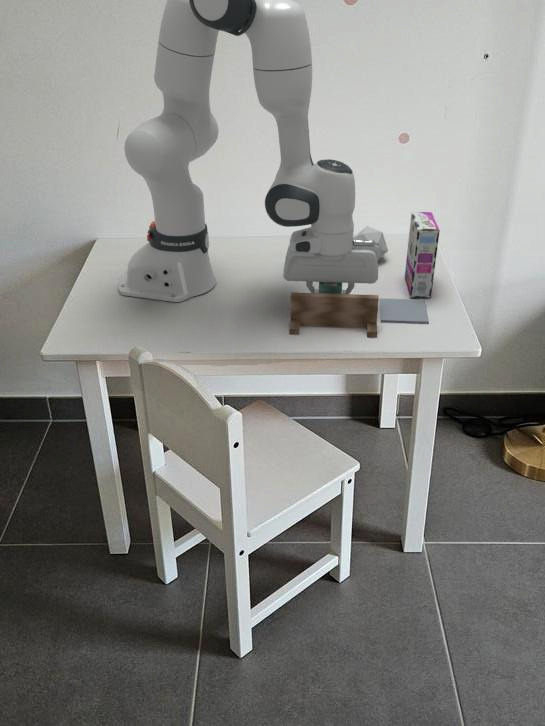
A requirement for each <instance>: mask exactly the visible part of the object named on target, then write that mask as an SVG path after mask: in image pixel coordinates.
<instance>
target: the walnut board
mask: <svg viewBox="0 0 545 726" xmlns="http://www.w3.org/2000/svg"><path fill="white" fill-rule="evenodd" d="M379 296H380V295H379V294H355V293H354V294H353V293H350V294H327V293H311V292H292V291H291V292H290V321H289V331H288V332H289V333H288V334H289V335H300V329H301V327H302V326H303V327H323V328H325V327H328V328H329V327H331V328H354V329H355V328H357V329H359V328H360V329H366V337H367V338H378V312H379V302H380V297H379Z"/></svg>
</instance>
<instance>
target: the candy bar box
mask: <svg viewBox="0 0 545 726" xmlns="http://www.w3.org/2000/svg"><path fill="white" fill-rule="evenodd" d="M410 214H411V215H410V224H409V233H408V240H407V251H406V261H405V269H404V270H405V272H404V279H405V282H406V286H407V291H408V293H409V297H410V299H431V298H432V294H433V293H432V291H433V284H434V277H435V271H436V270H435V268H436V261H437V255H438V254H437V253H438V248H439V247H438V245H439V240H440V239H439V238H440V231H441V229H440V228H439V226H438V224H437V221H436V219H435V217H434V214H433V212H431V211H429V212H428V211H418V212H417V211H412V212H411V213H410Z"/></svg>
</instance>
